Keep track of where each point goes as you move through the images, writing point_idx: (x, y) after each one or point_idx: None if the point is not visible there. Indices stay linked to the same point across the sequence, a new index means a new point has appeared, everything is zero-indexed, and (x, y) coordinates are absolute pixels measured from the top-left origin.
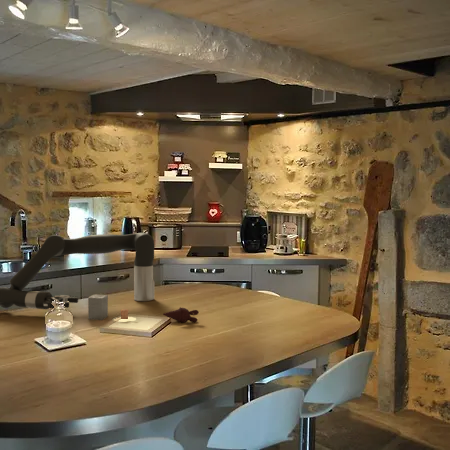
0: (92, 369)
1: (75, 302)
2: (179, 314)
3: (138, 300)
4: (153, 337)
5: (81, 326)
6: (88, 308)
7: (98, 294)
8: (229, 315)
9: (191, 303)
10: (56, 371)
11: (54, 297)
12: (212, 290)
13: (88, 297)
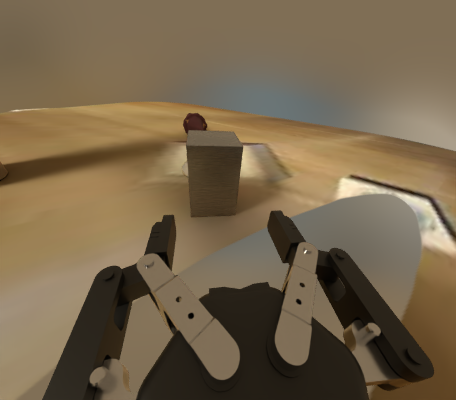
0: (387, 155)
1: (175, 239)
2: (203, 122)
3: None
4: (265, 143)
5: (287, 209)
6: (238, 183)
7: (187, 139)
8: (153, 121)
9: (72, 136)
10: (435, 170)
11: (237, 364)
12: None
13: (242, 146)
